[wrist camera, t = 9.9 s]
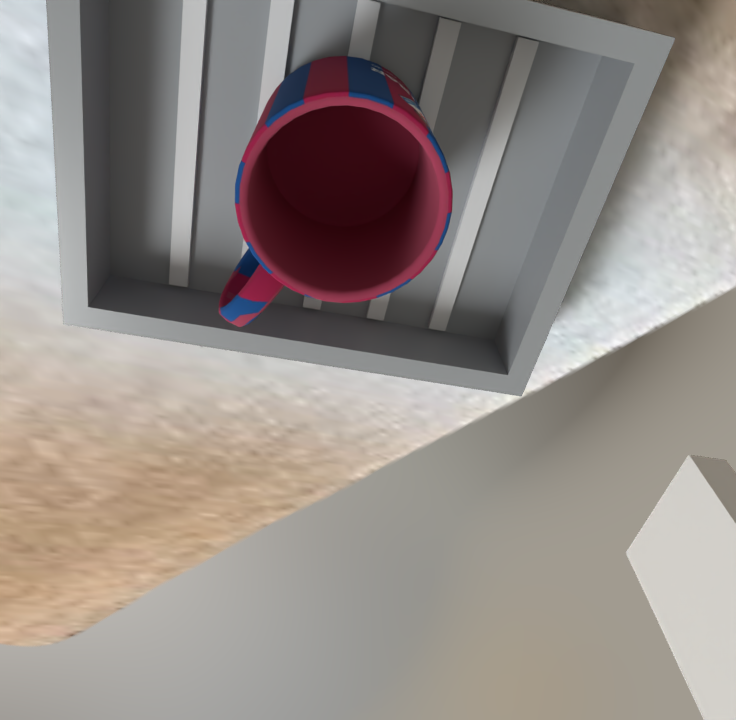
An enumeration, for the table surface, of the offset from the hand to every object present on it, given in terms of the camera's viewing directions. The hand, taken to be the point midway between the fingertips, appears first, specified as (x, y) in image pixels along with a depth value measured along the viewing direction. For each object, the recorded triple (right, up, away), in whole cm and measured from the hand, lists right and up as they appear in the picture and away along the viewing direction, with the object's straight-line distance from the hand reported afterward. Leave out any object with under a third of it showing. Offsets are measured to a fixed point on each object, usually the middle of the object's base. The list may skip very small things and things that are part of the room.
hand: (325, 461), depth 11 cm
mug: (-1, +9, +15) cm, 17 cm away
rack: (-1, +10, +16) cm, 19 cm away
